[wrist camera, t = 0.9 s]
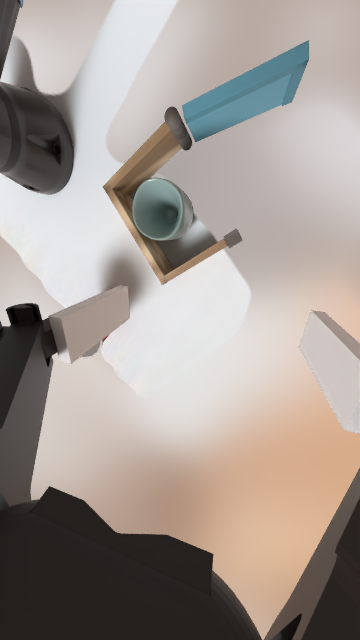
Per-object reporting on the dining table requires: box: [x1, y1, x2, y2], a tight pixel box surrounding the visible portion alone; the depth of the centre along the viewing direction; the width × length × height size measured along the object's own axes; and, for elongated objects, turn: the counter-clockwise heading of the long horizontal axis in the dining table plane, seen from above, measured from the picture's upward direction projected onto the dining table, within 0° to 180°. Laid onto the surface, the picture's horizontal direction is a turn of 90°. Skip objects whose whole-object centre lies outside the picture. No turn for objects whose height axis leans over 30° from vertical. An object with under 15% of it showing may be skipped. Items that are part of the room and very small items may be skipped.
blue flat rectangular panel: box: [182, 41, 309, 142], centre depth 25 cm, size 14×1×7 cm, turn 104°
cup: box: [132, 178, 193, 241], centre depth 32 cm, size 8×8×10 cm
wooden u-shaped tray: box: [103, 107, 242, 285], centre depth 32 cm, size 19×15×8 cm
